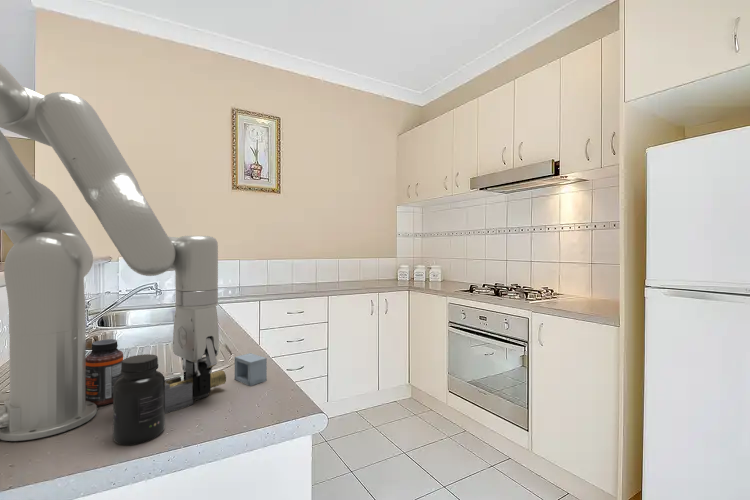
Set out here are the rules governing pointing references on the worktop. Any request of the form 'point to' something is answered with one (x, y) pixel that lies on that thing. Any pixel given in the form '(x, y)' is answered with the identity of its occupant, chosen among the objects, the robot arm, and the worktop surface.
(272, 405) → the worktop surface
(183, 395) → the sleeve
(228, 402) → the worktop surface
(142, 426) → the supplement bottle
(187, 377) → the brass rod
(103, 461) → the worktop surface
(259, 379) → the socket
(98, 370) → the supplement bottle
